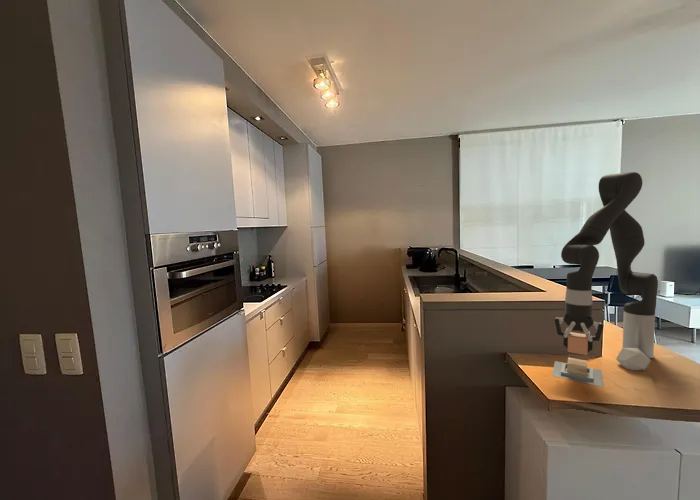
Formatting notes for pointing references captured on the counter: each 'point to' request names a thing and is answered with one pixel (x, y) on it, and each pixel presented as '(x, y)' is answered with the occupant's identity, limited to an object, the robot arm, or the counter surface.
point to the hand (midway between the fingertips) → (577, 348)
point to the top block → (577, 343)
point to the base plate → (592, 374)
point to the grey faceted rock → (633, 359)
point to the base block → (577, 366)
